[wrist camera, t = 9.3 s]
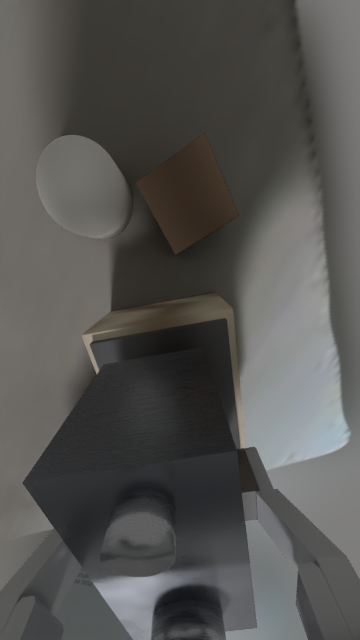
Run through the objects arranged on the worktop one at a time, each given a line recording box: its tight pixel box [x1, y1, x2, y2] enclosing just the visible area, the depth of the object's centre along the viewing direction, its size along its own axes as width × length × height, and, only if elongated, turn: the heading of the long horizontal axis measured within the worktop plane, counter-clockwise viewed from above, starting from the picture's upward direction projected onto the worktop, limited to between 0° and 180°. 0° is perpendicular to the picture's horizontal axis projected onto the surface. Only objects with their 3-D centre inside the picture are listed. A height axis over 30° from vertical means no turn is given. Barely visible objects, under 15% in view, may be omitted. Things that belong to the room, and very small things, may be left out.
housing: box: [23, 347, 257, 640], centre depth 8 cm, size 10×5×6 cm, turn 10°
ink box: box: [54, 568, 133, 640], centre depth 16 cm, size 9×9×12 cm
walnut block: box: [136, 133, 239, 255], centre depth 11 cm, size 4×4×4 cm
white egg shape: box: [36, 135, 133, 239], centre depth 12 cm, size 5×5×2 cm
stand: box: [81, 292, 246, 449], centre depth 15 cm, size 9×12×5 cm
